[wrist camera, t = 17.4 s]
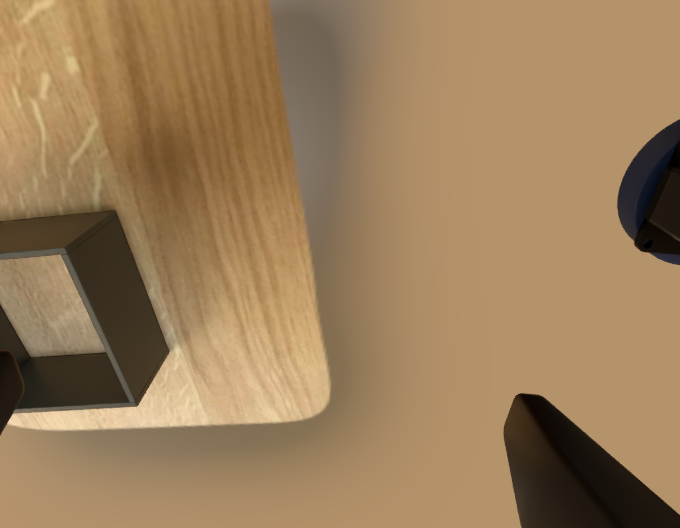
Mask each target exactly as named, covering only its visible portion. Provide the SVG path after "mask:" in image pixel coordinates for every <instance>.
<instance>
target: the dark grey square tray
mask: <svg viewBox="0 0 680 528" xmlns="http://www.w3.org/2000/svg"><path fill="white" fill-rule="evenodd" d="M60 254H62V255H61V256H62V258H63V260H64V262H65V265H66V267H67V269H68V271H69V273H70V275H71V277H72V280H73V282H74V284H75V286H76V288H77V290H78V292H79V295H80V297H81V299H82V301H83V303H84V305H85V307H86V310H87V312H88V314H89V316H90V318H91V320H92V322H93V324H94V327H95V329H96V331H97V333H98V335H99V337H100V339H101V342H102V344H103V346H104V348H105V350H106V352H107V353H99V354H85V355H70V356H55V357H41V358H30V357H29V355H28V354H27V352H26V350H25V349H24V347H23V345H22V343H21V342H20V340H19V338H18V336H17V335H16V333H15V331H14V329H13V328H12V326H11V324H10V323H9V321H8V319H7V317H6V316H5V314H4V312H3V310H2V309H1V307H0V349H2V350H8V351H10V352H11V353H12V354H13V355H14V357H15V360H16V362H17V365H18V368H19V371H20V373H21V376H22V379H23V382H24V393H23V396H22V398H21V400H20V402H19V404H18V405H17V407H16V409H15V411H14V412H13V413H31V412H49V411H66V410H84V409H102V408H119V407H137V406H138V405H139V403H140V401H141V400H142V398H143V396H144V394H145V393H146V391H147V389H148V388H149V386H150V384H151V383H152V381H153V379H154V378H155V376H156V374H157V372H158V371H159V369H160V367H161V366H162V364H163V362H164V361H165V359H166V357H167V356H168V354H169V351H168V349H167V346H166V343H165V340H164V338H163V335H162V332H161V330H160V327H159V325H158V322H157V319H156V317H155V314H154V311H153V309H152V306H151V304H150V301H149V298H148V296H147V293H146V290H145V288H144V285H143V283H142V280H141V277H140V275H139V272H138V269H137V267H136V264H135V262H134V259H133V256H132V254H131V251H130V248H129V246H128V243H127V241H126V238H125V235H124V233H123V230H122V227H121V225H120V222H119V220H118V217H117V214H116V212H115V211H105V212H94V213H84V214H74V215H64V216H54V217H44V218H33V219H23V220H13V221H3V222H0V260H4V259H15V258H26V257H37V256H49V255H60Z"/></svg>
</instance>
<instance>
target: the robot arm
mask: <svg viewBox="0 0 680 528" xmlns="http://www.w3.org/2000/svg"><path fill="white" fill-rule="evenodd" d="M648 239H649V241H648V242H647V243H646V244H644V245H643V243H644V242H645V241H646V240H648ZM634 245H635V247H636V248H638V249H639V250H640V251H643V252H649V253H660V254H672V255H680V138H679V141H678V143H677V145H676V147H675V150H674V152H673V154H672V156H671V159H670V161H669V163H668V165H667V168H666V170H665V171H664V173H663V175H662V177H661V180H660V182H659V184H658V186H657V189H656V191H655V193H654V195H653V198H652V200H651V202H650V204H649V207H648V209H647V211H646V213H645V217H644V219H643V222H642V224H641V226H640V228H639V231H638V233H637V235H636V237H635V240H634ZM23 393H24V382H23V379H22V376H21V373H20V371H19V368H18V365H17V362H16V360H15V357H14V355H13V354H12V353H11V352H10V351H8V350H2V349H0V435H1V433H2V431H3V430H4V428H5V426H6V424H7V423H8V421H9V419H10V418H11V416H12V414H13V412H14V411H15V409H16V407H17V405H18V404H19V402H20V400H21V398H22V396H23ZM504 441H505V446H506V452H507V457H508V461H509V467H510V472H511V477H512V483H513V488H514V493H515V499H516V503H517V509H518V514H519V518H520V523H521V527H522V528H680V515H679V514H678V513H677V512H676V511H675V510H673V509H672V508H671V507H670V506H669V505H667V504H666V503H665V502H664V501H663V500H662V499H661V498H660V497H658V496H657V495H656V494H655V493H654V492H653V491H651V490H650V489H649V488H648V487H647V486H646V485H645V484H643V483H642V482H641V481H640V480H639V479H638V478H636V477H635V476H634V475H633V474H632V473H631V472H630V471H628V470H627V469H626V468H625V467H624V466H623V465H622V464H620V463H619V462H618V461H617V460H616V459H615V458H613V457H612V456H611V455H610V454H609V453H607V452H606V451H605V450H604V449H603V448H602V447H601V446H600V445H598V444H597V443H596V442H595V441H594V440H593V439H591V438H590V437H589V436H588V435H587V434H586V433H585V432H583V431H582V430H581V429H580V428H579V427H578V426H577V425H575V424H574V423H573V422H572V421H571V420H570V419H568V418H567V417H566V416H565V415H564V414H563V413H562V412H560V411H559V410H558V409H557V408H556V407H555V406H554V405H552V404H551V403H550V402H549V401H548V400H547V399H545V398H544V397H542V396H540V395H535V394H524V393H521V394H518V395H516V396H515V398H514V400H513V403H512V406H511V408H510V411H509V414H508V417H507V419H506V422H505V425H504Z"/></svg>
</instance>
